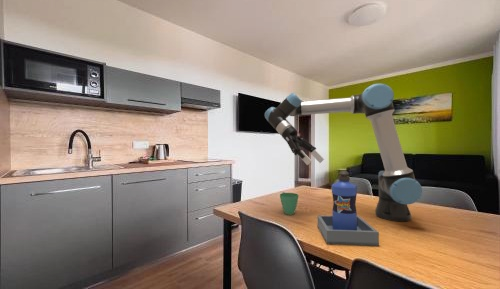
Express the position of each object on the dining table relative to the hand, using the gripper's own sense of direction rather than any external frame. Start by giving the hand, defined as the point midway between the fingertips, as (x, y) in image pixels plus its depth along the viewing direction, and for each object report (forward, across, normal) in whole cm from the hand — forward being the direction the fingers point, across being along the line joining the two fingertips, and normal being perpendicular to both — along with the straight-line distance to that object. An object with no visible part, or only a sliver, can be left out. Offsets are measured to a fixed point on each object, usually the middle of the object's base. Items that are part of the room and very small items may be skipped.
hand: (316, 162), depth 101 cm
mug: (+6, -9, -35) cm, 37 cm away
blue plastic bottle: (+29, +4, -10) cm, 31 cm away
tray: (+30, +4, -11) cm, 32 cm away
